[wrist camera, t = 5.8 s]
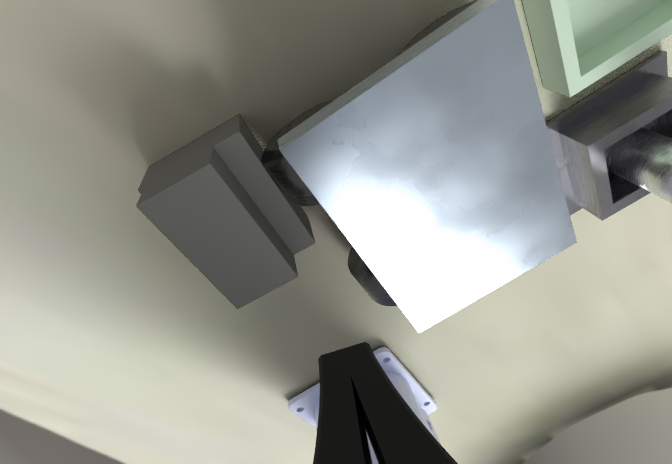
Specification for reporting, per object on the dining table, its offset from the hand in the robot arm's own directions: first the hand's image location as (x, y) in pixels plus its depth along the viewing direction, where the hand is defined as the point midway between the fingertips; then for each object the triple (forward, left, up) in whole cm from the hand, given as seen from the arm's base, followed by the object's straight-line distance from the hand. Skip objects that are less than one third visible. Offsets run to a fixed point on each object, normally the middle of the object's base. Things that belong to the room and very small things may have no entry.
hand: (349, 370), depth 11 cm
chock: (+2, +2, -10) cm, 11 cm away
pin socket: (-7, -15, -10) cm, 19 cm away
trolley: (-1, -5, -10) cm, 11 cm away
